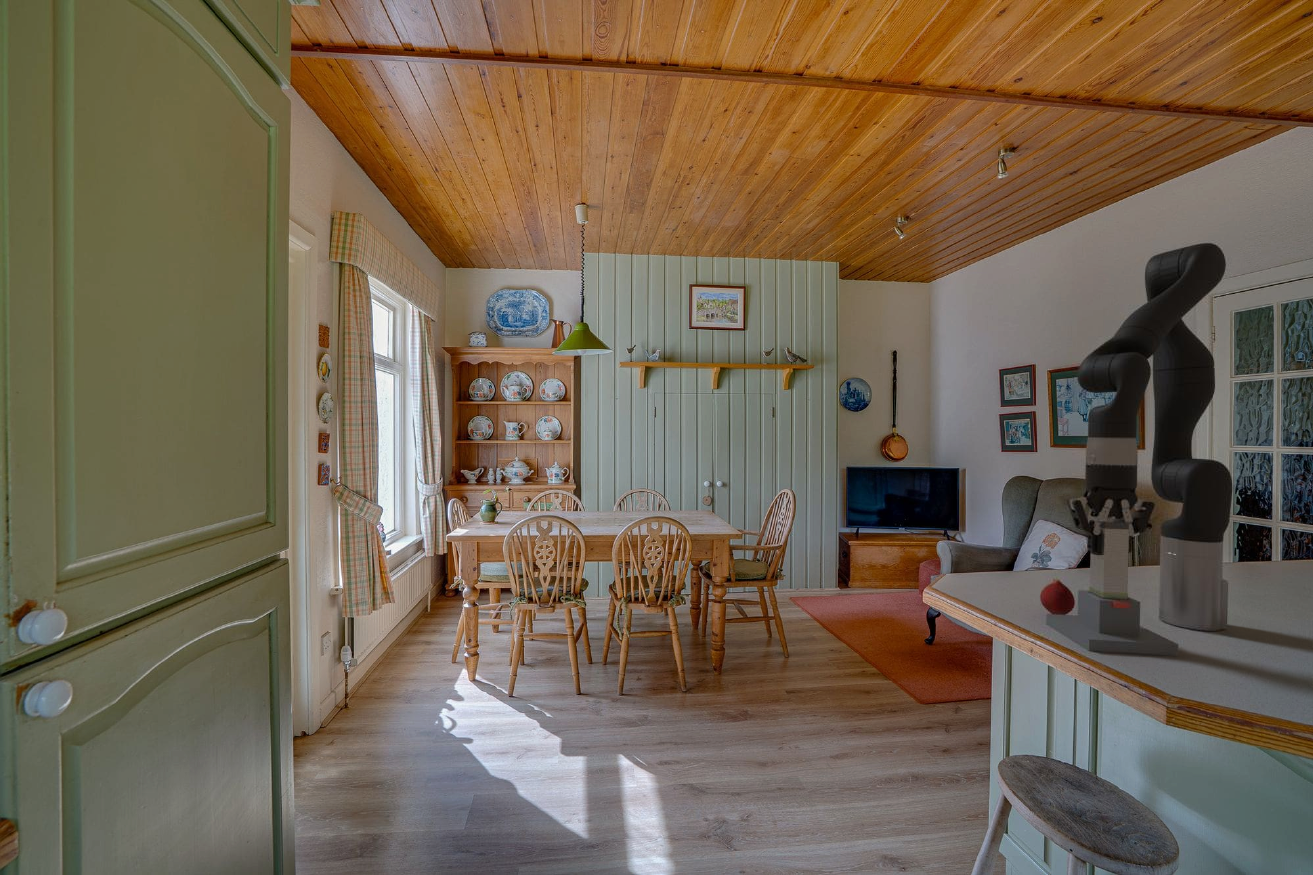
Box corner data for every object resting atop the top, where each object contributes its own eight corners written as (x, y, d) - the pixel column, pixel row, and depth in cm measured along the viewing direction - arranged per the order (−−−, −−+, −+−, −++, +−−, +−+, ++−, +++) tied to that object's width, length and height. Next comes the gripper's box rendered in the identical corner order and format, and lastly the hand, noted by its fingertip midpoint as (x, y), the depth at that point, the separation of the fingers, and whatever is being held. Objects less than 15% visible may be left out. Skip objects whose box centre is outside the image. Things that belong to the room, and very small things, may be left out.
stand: (1123, 627, 112) (1124, 587, 112) (1178, 655, 98) (1179, 609, 98) (1046, 623, 114) (1046, 583, 114) (1089, 650, 100) (1089, 605, 100)
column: (1113, 594, 108) (1114, 519, 108) (1127, 601, 104) (1129, 522, 104) (1089, 593, 109) (1090, 518, 108) (1103, 600, 105) (1104, 522, 104)
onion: (1063, 613, 121) (1064, 575, 121) (1080, 622, 115) (1081, 582, 115) (1034, 612, 122) (1035, 574, 122) (1050, 621, 116) (1051, 581, 116)
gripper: (1139, 461, 109) (1137, 552, 109) (1057, 460, 111) (1056, 549, 111) (1169, 464, 101) (1166, 561, 101) (1081, 462, 103) (1078, 557, 103)
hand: (1108, 554), depth 106 cm, fingers closed on column, 4 cm apart
